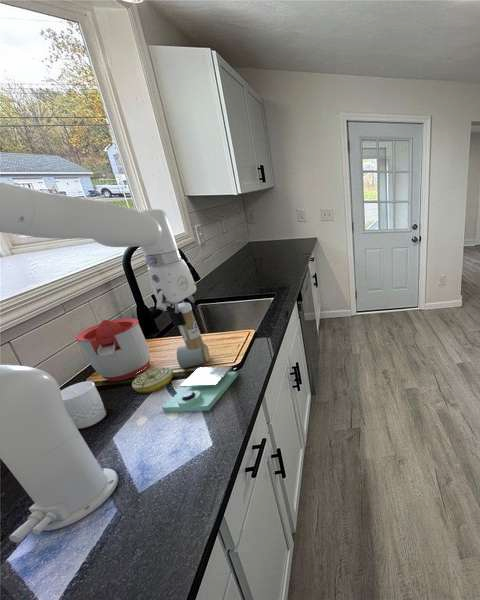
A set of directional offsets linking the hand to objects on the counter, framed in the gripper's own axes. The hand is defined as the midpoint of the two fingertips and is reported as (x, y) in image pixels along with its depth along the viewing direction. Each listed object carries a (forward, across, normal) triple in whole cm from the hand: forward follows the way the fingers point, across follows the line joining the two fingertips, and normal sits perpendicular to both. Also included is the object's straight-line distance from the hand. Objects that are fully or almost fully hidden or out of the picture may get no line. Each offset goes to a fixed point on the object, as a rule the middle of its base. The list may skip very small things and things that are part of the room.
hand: (186, 320), depth 89 cm
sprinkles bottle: (+9, 0, 0) cm, 9 cm away
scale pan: (+20, 0, 0) cm, 20 cm away
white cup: (+23, -13, +26) cm, 37 cm away
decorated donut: (+23, +2, +19) cm, 30 cm away
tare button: (+20, -9, 0) cm, 22 cm away
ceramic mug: (+23, +14, +13) cm, 30 cm away
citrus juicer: (+23, +9, +34) cm, 42 cm away
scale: (+23, -3, 0) cm, 23 cm away
